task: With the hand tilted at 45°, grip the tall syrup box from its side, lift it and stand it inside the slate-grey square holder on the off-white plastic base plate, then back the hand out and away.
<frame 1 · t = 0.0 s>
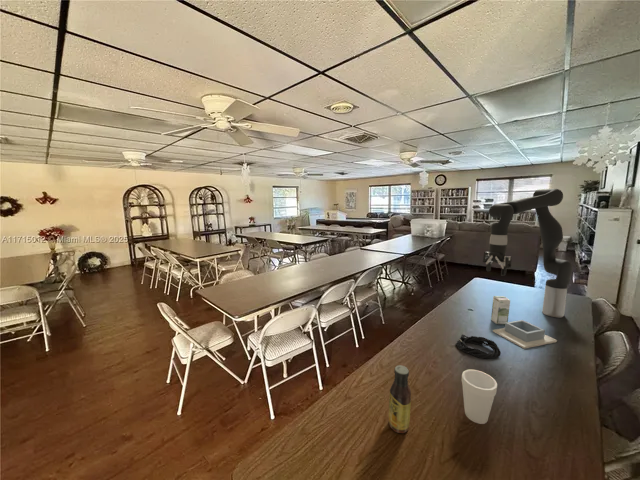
hand: (495, 273, 135), 29 cm above the table, tool pointing down, fingers open, 8 cm apart
cable: (477, 351, 118), on the table
foam cup: (476, 416, 83), on the table
sauce bottle: (398, 426, 79), on the table
end holder: (523, 336, 128), on the table
syrup box: (499, 322, 143), on the table
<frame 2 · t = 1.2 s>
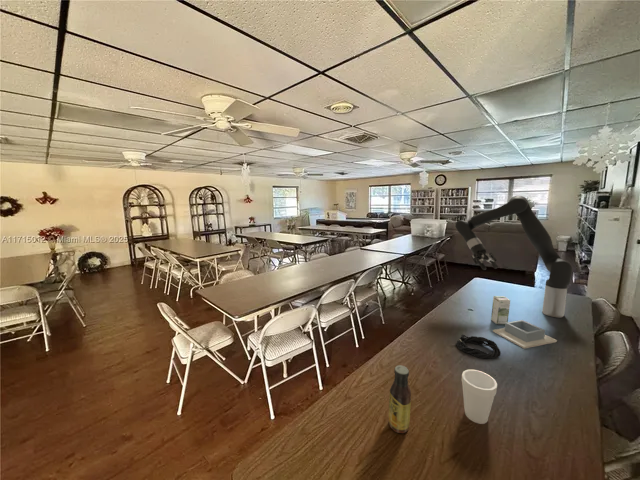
hand: (490, 268, 152), 27 cm above the table, tool tilted 45°, fingers open, 8 cm apart
nothing on the table moved.
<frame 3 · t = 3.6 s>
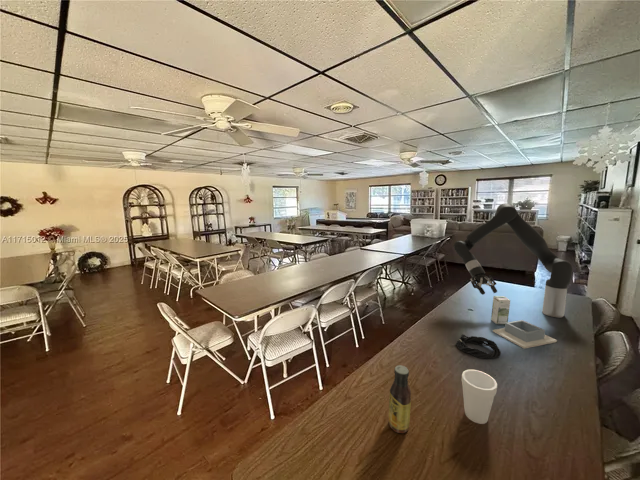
hand: (489, 293, 147), 14 cm above the table, tool tilted 45°, fingers open, 8 cm apart
nothing on the table moved.
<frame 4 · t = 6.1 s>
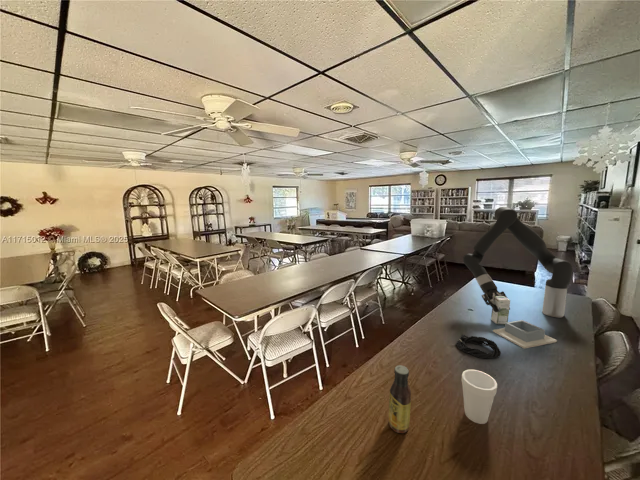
hand: (503, 310, 140), 7 cm above the table, tool tilted 45°, fingers closed on syrup box, 7 cm apart
syrup box: (499, 322, 143), on the table, touching gripper
everything else where it was.
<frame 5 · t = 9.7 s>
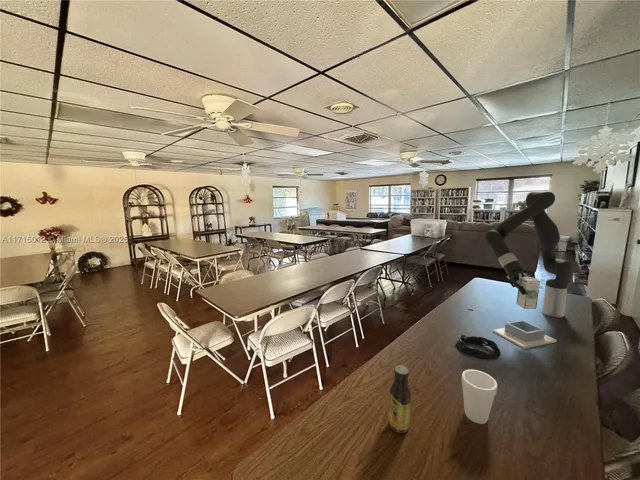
hand: (531, 293, 123), 23 cm above the table, tool tilted 45°, fingers closed on syrup box, 7 cm apart
syrup box: (526, 307, 126), point 15 cm above the table, touching gripper
everything else where it was.
when the fingers open (10 cm above the table, at t = 13.5 s): syrup box drops 1 cm, resting on end holder.
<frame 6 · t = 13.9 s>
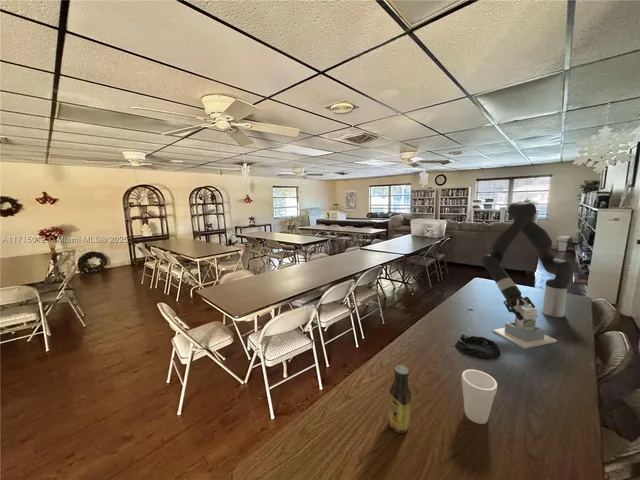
hand: (528, 318, 125), 10 cm above the table, tool tilted 45°, fingers open, 8 cm apart
syrup box: (523, 334, 128), point 1 cm above the table, touching end holder
everything else where it was.
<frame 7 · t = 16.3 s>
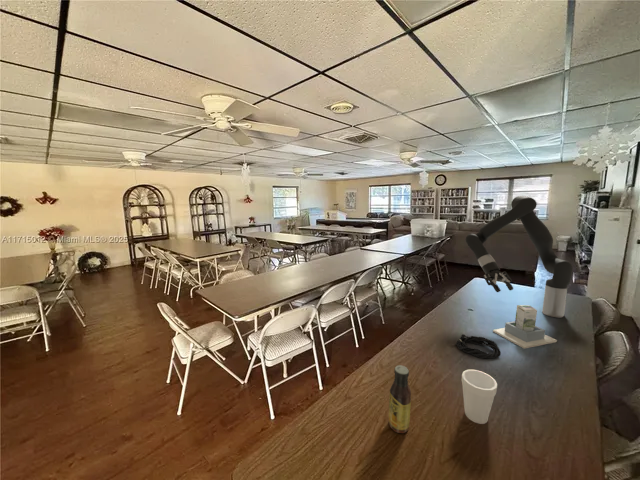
hand: (505, 290, 136), 20 cm above the table, tool tilted 45°, fingers open, 8 cm apart
nothing on the table moved.
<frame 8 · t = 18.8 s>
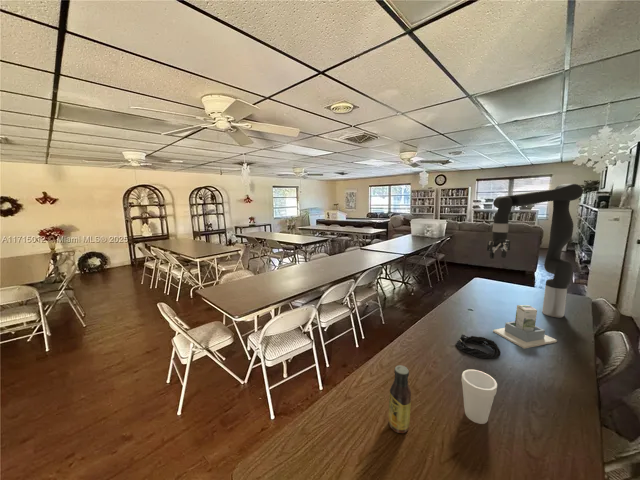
hand: (497, 258, 152), 33 cm above the table, tool pointing down, fingers open, 8 cm apart
nothing on the table moved.
at the end: syrup box 0.4 cm off-centre on the end holder, point 0.8 cm above the end holder's base; syrup box tilted 0°; the gripper is holding nothing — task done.
